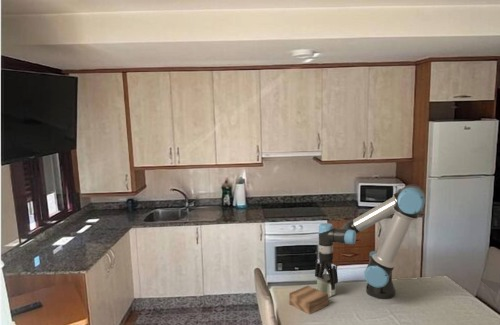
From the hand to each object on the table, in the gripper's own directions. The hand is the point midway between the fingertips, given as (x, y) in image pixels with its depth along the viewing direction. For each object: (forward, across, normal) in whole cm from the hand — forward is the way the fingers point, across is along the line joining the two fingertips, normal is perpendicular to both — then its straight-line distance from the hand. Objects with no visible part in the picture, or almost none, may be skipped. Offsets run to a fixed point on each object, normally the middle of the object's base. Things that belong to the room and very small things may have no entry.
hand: (326, 292), depth 205 cm
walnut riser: (+1, +2, -16) cm, 16 cm away
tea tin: (+1, 0, 0) cm, 1 cm away
